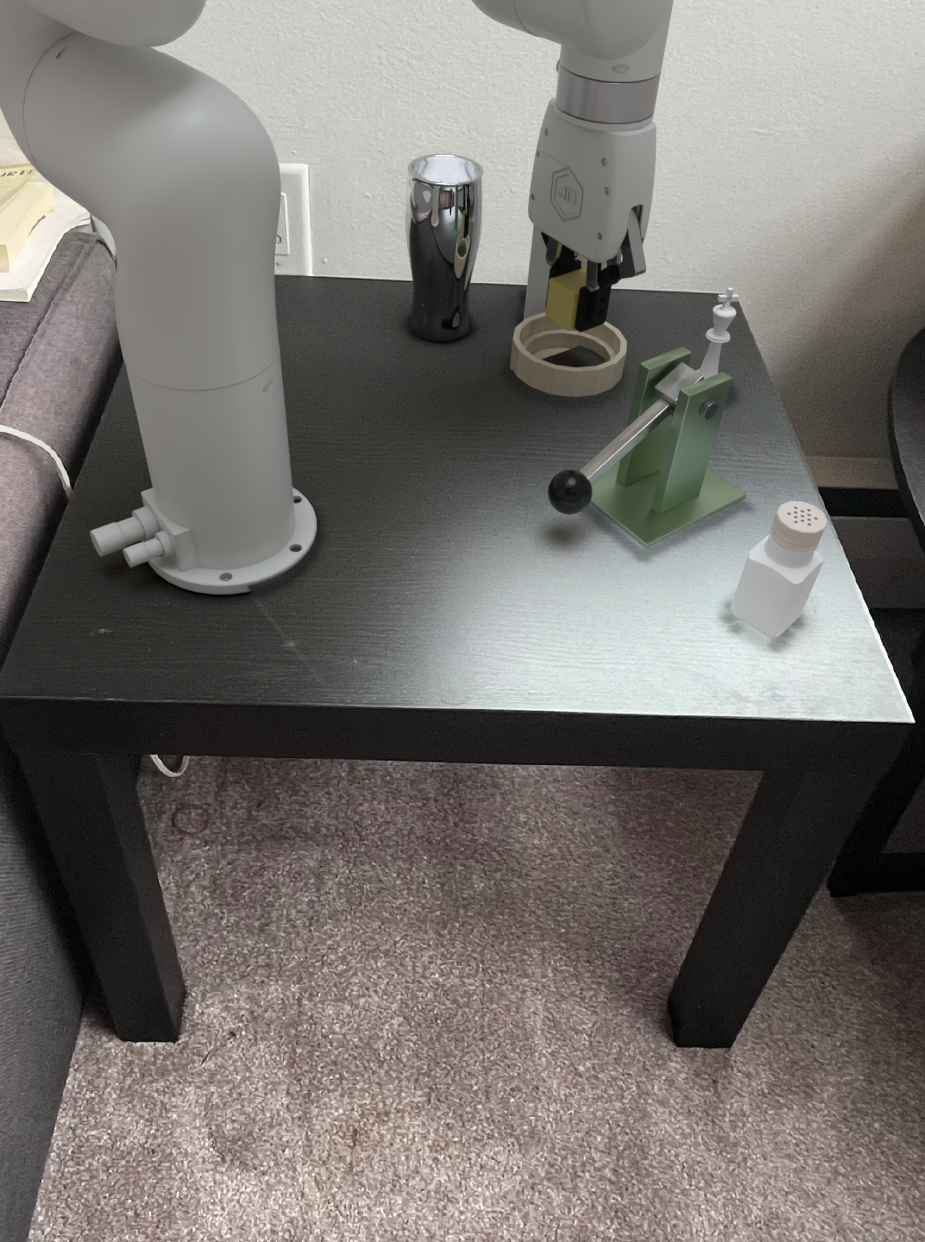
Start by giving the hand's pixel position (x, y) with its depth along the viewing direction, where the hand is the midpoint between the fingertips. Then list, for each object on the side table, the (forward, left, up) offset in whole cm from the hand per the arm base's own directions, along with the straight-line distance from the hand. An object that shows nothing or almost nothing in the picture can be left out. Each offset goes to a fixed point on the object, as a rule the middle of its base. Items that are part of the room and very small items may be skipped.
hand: (575, 315), depth 87 cm
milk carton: (+7, +9, -6) cm, 13 cm away
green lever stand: (-6, -18, -6) cm, 20 cm away
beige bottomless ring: (0, 0, -6) cm, 6 cm away
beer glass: (-5, +13, -6) cm, 15 cm away
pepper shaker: (-9, -32, -6) cm, 34 cm away
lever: (-10, -18, 0) cm, 21 cm away
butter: (0, 0, 0) cm, 0 cm away
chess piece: (+9, -9, -6) cm, 14 cm away
